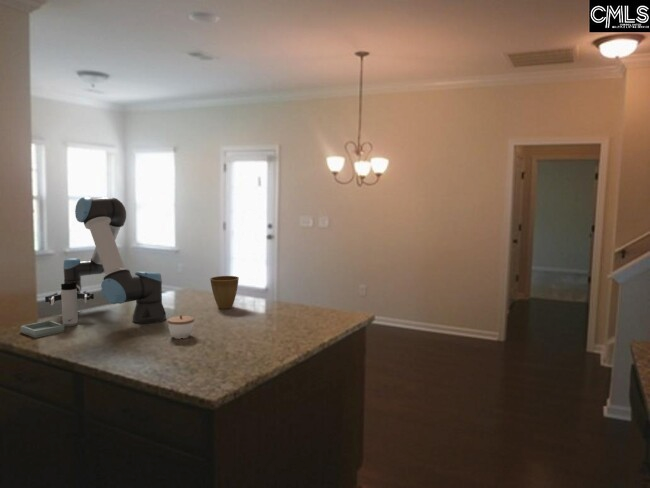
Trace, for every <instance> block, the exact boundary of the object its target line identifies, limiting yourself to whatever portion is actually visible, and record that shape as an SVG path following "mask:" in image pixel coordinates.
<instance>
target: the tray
mask: <svg viewBox="0 0 650 488" xmlns="http://www.w3.org/2000/svg"><path fill="white" fill-rule="evenodd" d="M65 331H66V330H65V326H64V325H63V324H62V323H59V322H56V321H52V320H49V319H48V320H45V321H40V322H34V323H29V324H24V325H21V326H20V333H22V334H24V335H27V336H29V337H32V338H35V339H36V338H39V337H40V338H41V337H44V336H45V337H46V336H50V335H54V334H59V333H63V332H65Z"/></svg>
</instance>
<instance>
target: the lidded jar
mask: <svg viewBox="0 0 650 488" xmlns="http://www.w3.org/2000/svg"><path fill="white" fill-rule="evenodd" d="M167 327H168V331H169V333H170V335H171V336H172V337H173V338H174V339H178V340H181V338H183V339H187V338H189V336H190V335H191V334H192V332H193V331H194V327H195V318H194V316H190V315H183V314H179V315H176V316H172V317H169V318H168V319H167Z"/></svg>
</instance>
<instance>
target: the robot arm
mask: <svg viewBox="0 0 650 488" xmlns="http://www.w3.org/2000/svg"><path fill="white" fill-rule="evenodd" d="M74 209H75V211H74V212H75V213H74V214H75V218H76V221H77V222H79V223H83V225H84V228H85V229H87V230H89V231H90V233H91V237H92V240H93V243H94V245H95V248H94V250H93V253H92V256H91V258H90V260H83V261H81V259H80V258H78V257H70V258H65V259H64V260H63V276H64V277H63V284H65V283H68V282H77V283H76V287H77V300H84V303H85V304H87V302H88V301H90V300H94V299H95V293H93V292H88V291H87V290H84V291H82V284H81V283H82V279H81V278H82V277H83V276H90V275H91V276H92V275H101V274H104V276H103V279H102V282H101V285H100V287H101V289H100V290H101V294H102V296H103V298H104V299H105V301H107V303H110V304H112V305H115V304H124V303H128V302H129V303H130V302H134V301H135V302H136V303H135V307H134V310H133V314H132V321H133V322H134V323H139V324H152V323H159V322H162V321H164V320H166V319H167V313H166V311H165V307H164V305H163V298H162V297H163V292H162V291H163V290H162V287H163V286H162V283H163V280H162V279H163V278H162V274H161V273H159V272H157V271H147V270H145V271H144V270H141V271H140V270H138V271H135V273H134V275H132V274H131V271H130V269H128V268H125V265H124V263H123V259H122V257H121V253H120V251H119V247H118V246H117V243H116V239H117V237H118V234H119V232H120V229H121V228H123V227H124V225H125V223H126V220H127V211H126V207H125V205H124V204H123V202H121V201H120V200H119V199H118V198H115V197H111V196H110V197H109V196H107V197H105V196H104V197H102V196H100V197H99V196H96V197H94V196H87V197H84V196H83V197H81V198H79V199H78V201H77V202H76V205H75V208H74ZM81 291H82V292H81ZM44 301H45V303H49V304H50V306H53V305H54V303H55V302H57V301H62V298H61V293H58V292H54V293H53V294H49V295H45V297H44Z"/></svg>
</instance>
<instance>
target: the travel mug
mask: <svg viewBox="0 0 650 488" xmlns="http://www.w3.org/2000/svg"><path fill="white" fill-rule="evenodd" d="M76 283H77V282H68V283H65V284H64V283H60V287H61V288H60V289H61V293H60V294H61V298H62V300H61V317H62V318H61V319H62V323H61V324H62V325H64V328H65V327H66V328H67V327H68V328H69V327H75V326H77V325H78V324H79V319H78V318H79V316H78V315H79V314H78V299H77V287H76Z"/></svg>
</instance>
